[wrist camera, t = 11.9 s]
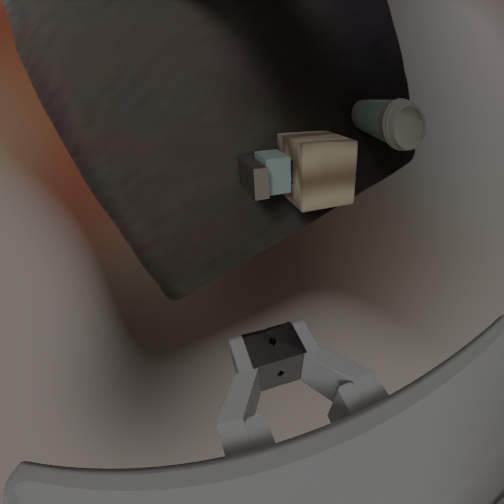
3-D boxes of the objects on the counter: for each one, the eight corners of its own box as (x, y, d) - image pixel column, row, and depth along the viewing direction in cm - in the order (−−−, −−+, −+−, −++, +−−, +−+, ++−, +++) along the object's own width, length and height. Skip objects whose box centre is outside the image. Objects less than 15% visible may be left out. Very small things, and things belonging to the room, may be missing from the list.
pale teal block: (254, 151, 41) (265, 159, 36) (276, 149, 42) (290, 156, 37) (256, 184, 44) (267, 196, 39) (277, 181, 45) (291, 192, 40)
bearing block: (277, 133, 41) (302, 144, 34) (326, 130, 43) (357, 141, 36) (279, 191, 47) (302, 212, 40) (325, 184, 49) (353, 203, 41)
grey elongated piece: (237, 155, 41) (253, 169, 35) (339, 145, 45) (368, 157, 38) (240, 182, 44) (255, 200, 37) (338, 169, 47) (366, 184, 41)
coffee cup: (387, 114, 44) (434, 126, 34) (364, 145, 46) (409, 164, 37) (361, 83, 40) (410, 88, 30) (336, 116, 42) (382, 128, 32)
